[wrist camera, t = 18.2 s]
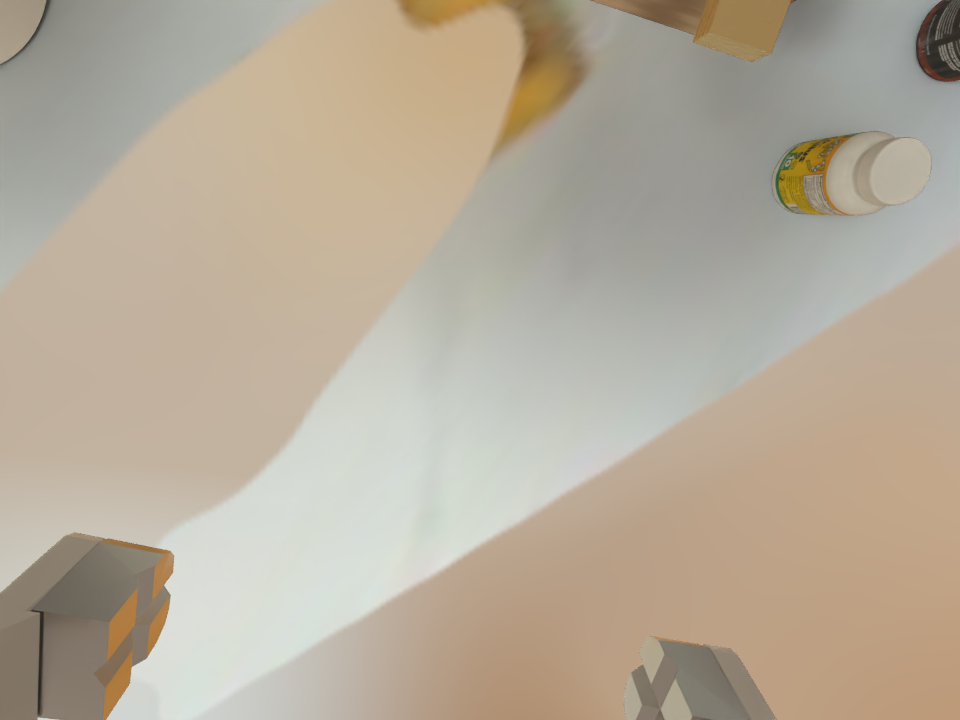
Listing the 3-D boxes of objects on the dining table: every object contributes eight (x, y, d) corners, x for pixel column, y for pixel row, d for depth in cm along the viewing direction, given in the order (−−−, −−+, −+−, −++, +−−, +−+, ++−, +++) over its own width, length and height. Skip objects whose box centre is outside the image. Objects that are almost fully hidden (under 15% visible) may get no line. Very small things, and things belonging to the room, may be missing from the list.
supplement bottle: (779, 224, 44) (869, 231, 35) (761, 160, 43) (849, 149, 33) (843, 195, 44) (950, 193, 35) (826, 129, 42) (934, 109, 33)
